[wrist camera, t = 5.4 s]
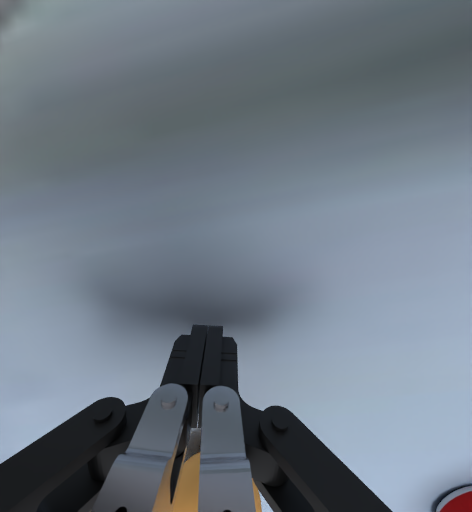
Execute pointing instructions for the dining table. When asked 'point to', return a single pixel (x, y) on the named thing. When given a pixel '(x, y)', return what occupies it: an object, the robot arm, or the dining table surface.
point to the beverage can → (457, 501)
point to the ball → (197, 487)
